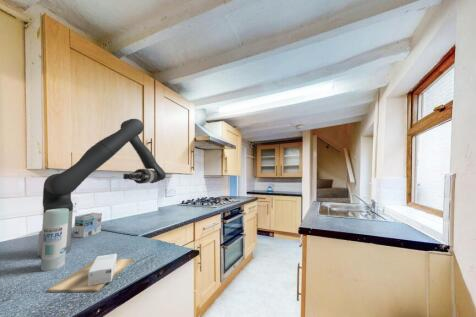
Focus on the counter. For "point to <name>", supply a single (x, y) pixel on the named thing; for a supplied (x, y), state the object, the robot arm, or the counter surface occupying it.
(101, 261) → the skincare box
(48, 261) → the spray paint can
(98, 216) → the light bulb box
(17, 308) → the counter surface
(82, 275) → the wooden board
